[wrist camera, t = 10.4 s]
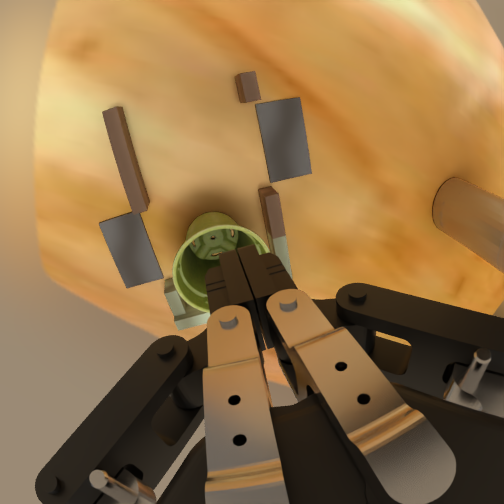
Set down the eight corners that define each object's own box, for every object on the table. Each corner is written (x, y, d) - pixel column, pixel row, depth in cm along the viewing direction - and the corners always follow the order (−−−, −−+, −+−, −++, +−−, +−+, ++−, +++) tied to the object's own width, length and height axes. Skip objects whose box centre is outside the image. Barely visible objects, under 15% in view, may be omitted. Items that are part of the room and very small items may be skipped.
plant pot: (243, 187, 34) (263, 213, 26) (259, 258, 39) (279, 298, 31) (162, 210, 33) (158, 243, 26) (186, 279, 38) (190, 324, 30)
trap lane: (293, 67, 29) (307, 64, 25) (321, 269, 41) (333, 284, 38) (67, 128, 26) (54, 131, 23) (143, 319, 39) (141, 339, 35)
